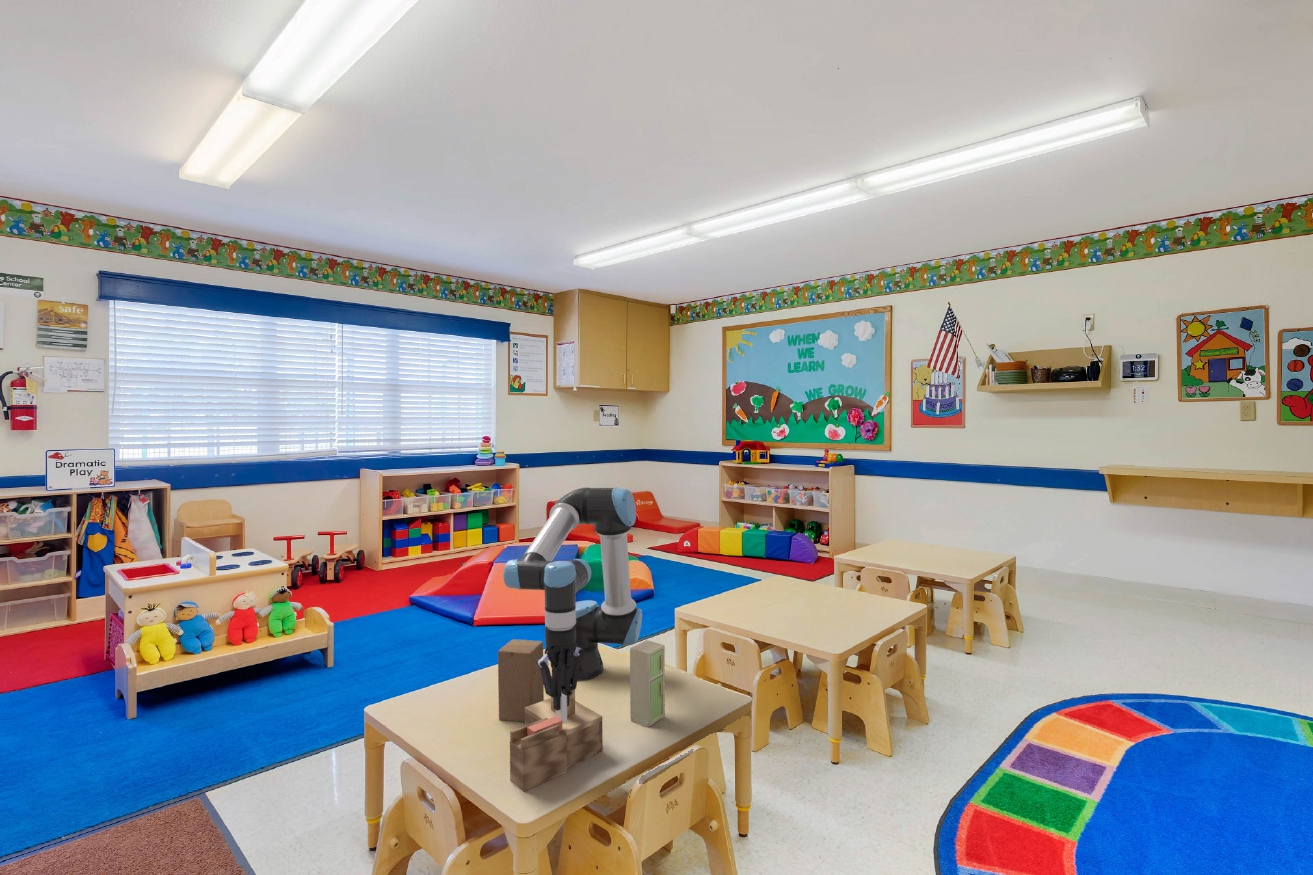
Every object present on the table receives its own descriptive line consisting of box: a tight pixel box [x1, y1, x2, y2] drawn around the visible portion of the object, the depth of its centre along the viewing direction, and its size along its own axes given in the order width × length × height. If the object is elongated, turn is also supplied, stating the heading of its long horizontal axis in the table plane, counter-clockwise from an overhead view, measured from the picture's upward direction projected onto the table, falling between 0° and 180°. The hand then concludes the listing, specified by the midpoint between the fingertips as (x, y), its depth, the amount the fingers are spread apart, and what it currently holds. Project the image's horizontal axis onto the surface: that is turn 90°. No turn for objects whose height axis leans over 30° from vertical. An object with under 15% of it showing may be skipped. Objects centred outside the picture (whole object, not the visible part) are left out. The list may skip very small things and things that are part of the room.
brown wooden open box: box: [509, 712, 604, 792], centre depth 160 cm, size 24×20×12 cm
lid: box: [525, 675, 603, 735], centre depth 164 cm, size 12×18×10 cm, turn 42°
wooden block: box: [497, 638, 545, 723], centre depth 183 cm, size 10×10×20 cm
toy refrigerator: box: [629, 640, 666, 728], centre depth 179 cm, size 8×7×21 cm
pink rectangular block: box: [527, 716, 562, 736], centre depth 152 cm, size 8×3×2 cm, turn 132°
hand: (561, 720), depth 155 cm, fingers closed
